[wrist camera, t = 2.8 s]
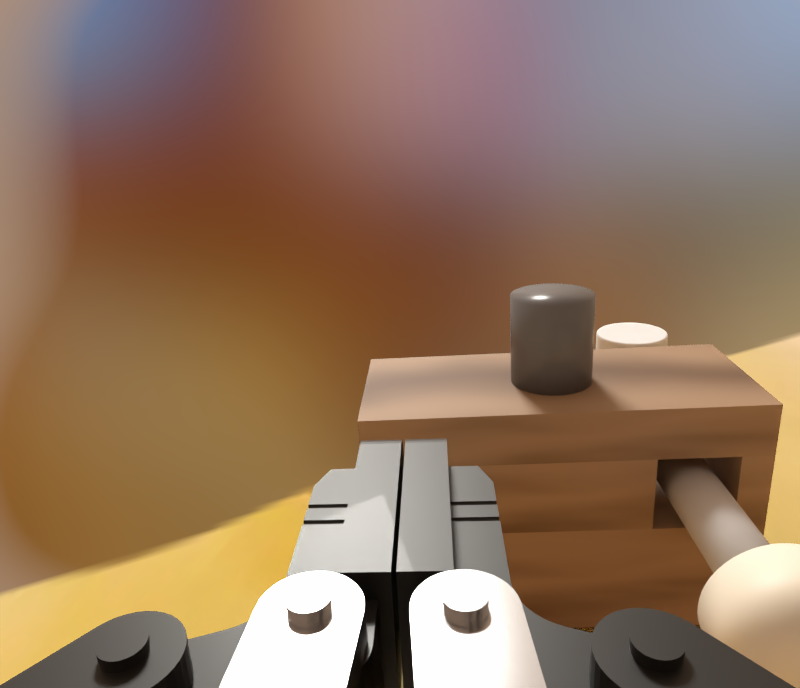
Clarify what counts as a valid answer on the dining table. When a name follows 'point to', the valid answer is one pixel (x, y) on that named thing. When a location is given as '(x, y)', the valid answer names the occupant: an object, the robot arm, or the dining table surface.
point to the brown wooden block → (590, 465)
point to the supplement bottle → (630, 336)
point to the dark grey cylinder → (552, 338)
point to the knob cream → (738, 570)
